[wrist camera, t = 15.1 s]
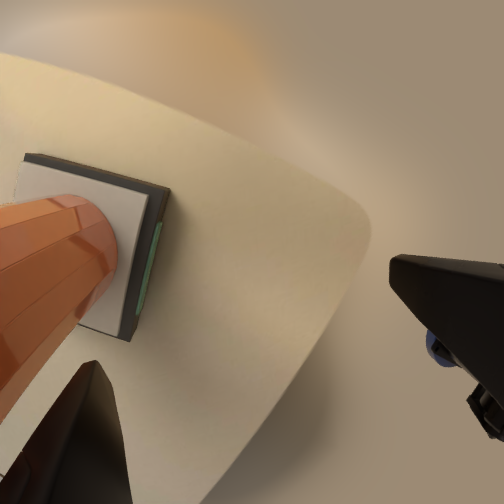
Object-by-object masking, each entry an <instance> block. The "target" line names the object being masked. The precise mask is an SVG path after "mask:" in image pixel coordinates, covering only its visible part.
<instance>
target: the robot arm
mask: <svg viewBox="0 0 504 504" xmlns="http://www.w3.org/2000/svg"><path fill="white" fill-rule="evenodd" d="M389 284H390V286H391V288H392V289H393V290H394V292H395V293H396V294H397V295H398V296H399V298H400V299H401V300H402V301H403V302H404V303H405V305H406V306H407V307H408V308H409V309H410V311H411V312H412V313H413V314H414V315H415V316H416V318H418V320H419V321H420V322H421V323H422V324H423V325H424V326H425V327H426V328H427V329H428V330H429V331H430V332H431V333H432V334H433V335H434V336H435V337H436V340H435V341H434V343H433V344H432V346H431V351H432V352H433V353H434V354H436V355H438V356H440V357H441V358H443V359H445V360H447V361H449V362H451V363H453V364H455V365H456V366H458V367H460V368H463V369H464V370H465V371H466V372H467V373H468V374H470V375H471V376H472V377H473V378H474V379H475V380H476V381H477V382H478V385H477V387H476V388H475V390H474V391H473V392H472V394H471V395H469V397H468V398H467V400H466V401H467V402H468V404H469V405H470V408H471V410H472V411H473V413H474V414H475V416H476V417H477V419H478V420H479V422H480V423H481V425H482V427H483V428H484V430H485V431H486V432H487V434H488V436H489V438H491V439H496V438H497V439H498V440H500V441H502V442H504V264H497V263H487V262H478V261H468V260H457V259H446V258H437V257H427V256H416V255H406V254H400V255H397V256H395V257H393V258H392V259H391V260H390V265H389ZM435 348H436V349H435ZM22 451H23V452H20V454H19V455H18V457H17V458H16V460H15V461H14V463H13V464H12V466H11V467H10V469H9V470H8V472H7V473H6V475H5V476H4V478H3V479H2V480H1V482H0V504H133V502H132V496H131V490H130V484H129V478H128V472H127V465H126V457H125V449H124V441H123V435H122V430H121V426H120V421H119V416H118V412H117V407H116V402H115V396H114V391H113V387H112V384H111V382H110V380H109V379H108V377H107V375H106V373H105V372H104V370H103V368H102V366H101V365H100V363H99V362H98V361H96V360H93V361H89V362H86V363H83V364H82V365H81V367H80V368H79V369H78V371H77V372H76V373H75V375H74V376H73V377H72V379H71V380H70V381H69V383H68V384H67V386H66V387H65V388H64V390H63V391H62V392H61V394H60V395H59V397H58V398H57V399H56V401H55V402H54V404H53V405H52V406H51V408H50V409H49V411H48V412H47V414H46V415H45V416H44V418H43V419H42V421H41V422H40V424H39V425H38V427H37V428H36V430H35V431H34V433H33V434H32V435H31V437H30V438H29V440H28V441H27V443H26V444H25V446H24V447H23V449H22Z"/></svg>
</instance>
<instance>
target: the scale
mask: <svg viewBox="0 0 504 504" xmlns="http://www.w3.org/2000/svg"><path fill="white" fill-rule="evenodd" d="M169 192H170V189H169V188H166V187H162V186H159V185H155V184H152V183H148V182H145V181H141V180H138V179H134V178H131V177H127V176H123V175H120V174H116V173H112V172H109V171H105V170H101V169H97V168H94V167H90V166H86V165H82V164H78V163H75V162H71V161H67V160H63V159H59V158H55V157H51V156H47V155H43V154H34V153H25V157H24V161H21V162H20V167H19V172H18V176H17V181H16V187H15V192H14V198H13V202H16V201H21V200H26V199H32V198H37V197H42V196H48V195H58V194H73V195H77V196H80V197H83V198H85V199H87V200H89V201H90V202H91V203H93V204H94V205H95V206H96V207H97V208H99V209H100V210H101V212H102V213H103V214H104V215H105V217H106V218H107V220H108V222H109V223H110V225H111V227H112V230H113V232H114V235H115V239H116V243H117V250H118V261H117V268H116V272H115V275H114V278H113V280H112V282H111V284H110V286H109V287H108V289H107V290H106V291H105V292H104V294H103V295H102V296H101V297H100V298H99V299H98V300H97V301H96V303H95V304H94V305H93V306H92V307H91V308H90V310H89V311H88V312H87V313H86V314H85V315H84V317H83V318H82V319H81V320H80V321H79V322H78V325H81V326H83V327H86V328H89V329H92V330H94V331H97V332H100V333H103V334H106V335H109V336H112V337H115V338H118V339H121V340H124V341H127V342H130V341H131V339H132V337H133V335H134V332H135V330H136V328H137V323H138V318H139V313H140V311H141V309H142V307H143V302H144V297H145V293H146V288H147V284H148V280H149V275H150V271H151V267H152V263H153V259H154V255H155V251H156V247H157V243H158V239H159V235H160V231H161V228H162V224H163V222H161V220H162V217H163V213H164V210H165V206H166V203H167V199H168V196H169Z"/></svg>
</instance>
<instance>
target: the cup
mask: <svg viewBox="0 0 504 504" xmlns="http://www.w3.org/2000/svg"><path fill="white" fill-rule="evenodd" d="M117 261H118V250H117V243H116V239H115V235H114V232H113V230H112V227H111V225H110V223H109V222H108V220H107V218H106V217H105V215H104V214H103V213H102V212H101V210H100V209H99V208H97V207H96V206H95V205H94V204H93V203H91V202H90V201H89V200H87V199H85V198H83V197H80V196H77V195H73V194H58V195H48V196H42V197H37V198H32V199H26V200H21V201H16V202H11V203H7V204H2V205H0V424H1V423H2V422H3V420H4V419H5V417H6V416H7V414H8V413H9V411H10V410H11V409H12V407H13V406H14V404H15V403H16V402H17V400H18V399H19V397H20V396H21V395H22V393H23V392H24V391H25V389H26V388H27V387H28V385H29V384H30V383H31V381H32V380H33V379H34V377H35V376H36V375H37V373H38V372H39V371H40V369H41V368H42V367H43V366H44V364H45V363H46V362H47V361H48V359H49V358H50V357H51V355H52V354H53V353H54V352H55V350H56V349H57V348H58V347H59V345H60V344H61V343H62V342H63V341H64V339H65V338H66V337H67V336H68V334H69V333H70V332H71V331H72V330H73V328H74V327H75V326H76V325H77V324H78V322H79V321H80V320H81V319H82V318H83V317H84V315H85V314H86V313H87V312H88V311H89V310H90V308H91V307H92V306H93V305H94V304H95V303H96V301H97V300H98V299H99V298H100V297H101V296H102V295H103V294H104V292H105V291H106V290H107V289H108V287H109V286H110V284H111V282H112V280H113V278H114V275H115V272H116V268H117Z"/></svg>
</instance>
